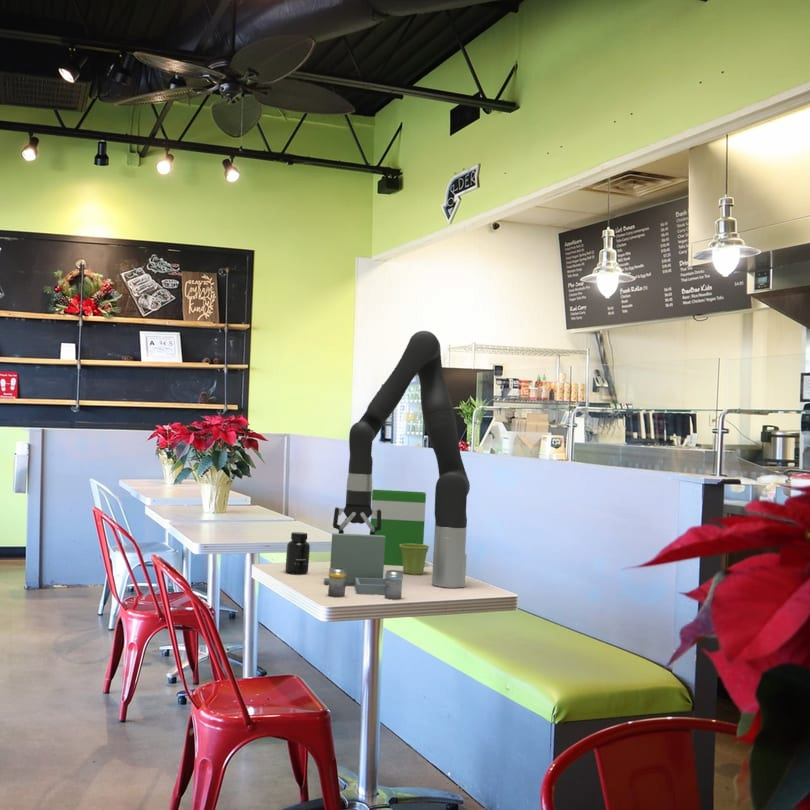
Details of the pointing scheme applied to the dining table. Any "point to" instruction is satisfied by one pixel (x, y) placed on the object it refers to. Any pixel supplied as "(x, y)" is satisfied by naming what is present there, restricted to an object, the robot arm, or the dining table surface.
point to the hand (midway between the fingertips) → (356, 543)
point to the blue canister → (393, 584)
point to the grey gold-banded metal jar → (337, 582)
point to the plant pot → (413, 558)
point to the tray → (370, 586)
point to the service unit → (358, 556)
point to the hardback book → (399, 521)
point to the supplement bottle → (297, 554)
